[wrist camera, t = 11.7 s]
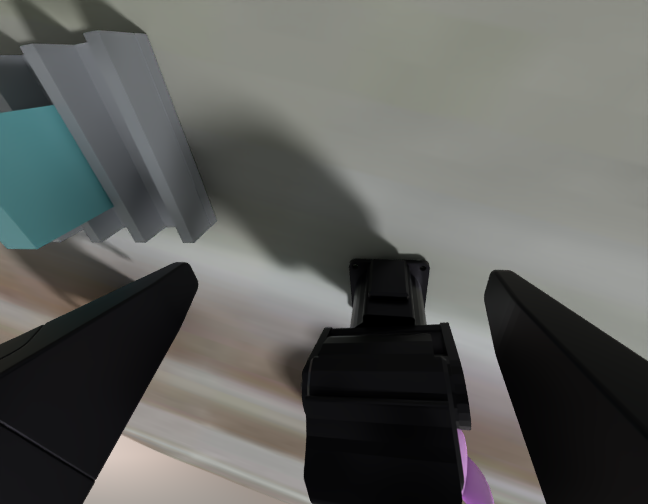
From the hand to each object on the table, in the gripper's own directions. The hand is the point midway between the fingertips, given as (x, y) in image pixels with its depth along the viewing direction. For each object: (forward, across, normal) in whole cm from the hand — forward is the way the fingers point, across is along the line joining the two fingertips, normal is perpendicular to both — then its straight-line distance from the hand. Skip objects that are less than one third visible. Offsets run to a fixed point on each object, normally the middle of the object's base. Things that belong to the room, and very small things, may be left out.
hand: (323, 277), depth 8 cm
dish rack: (+13, +20, -1) cm, 24 cm away
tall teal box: (+12, +20, -2) cm, 23 cm away
